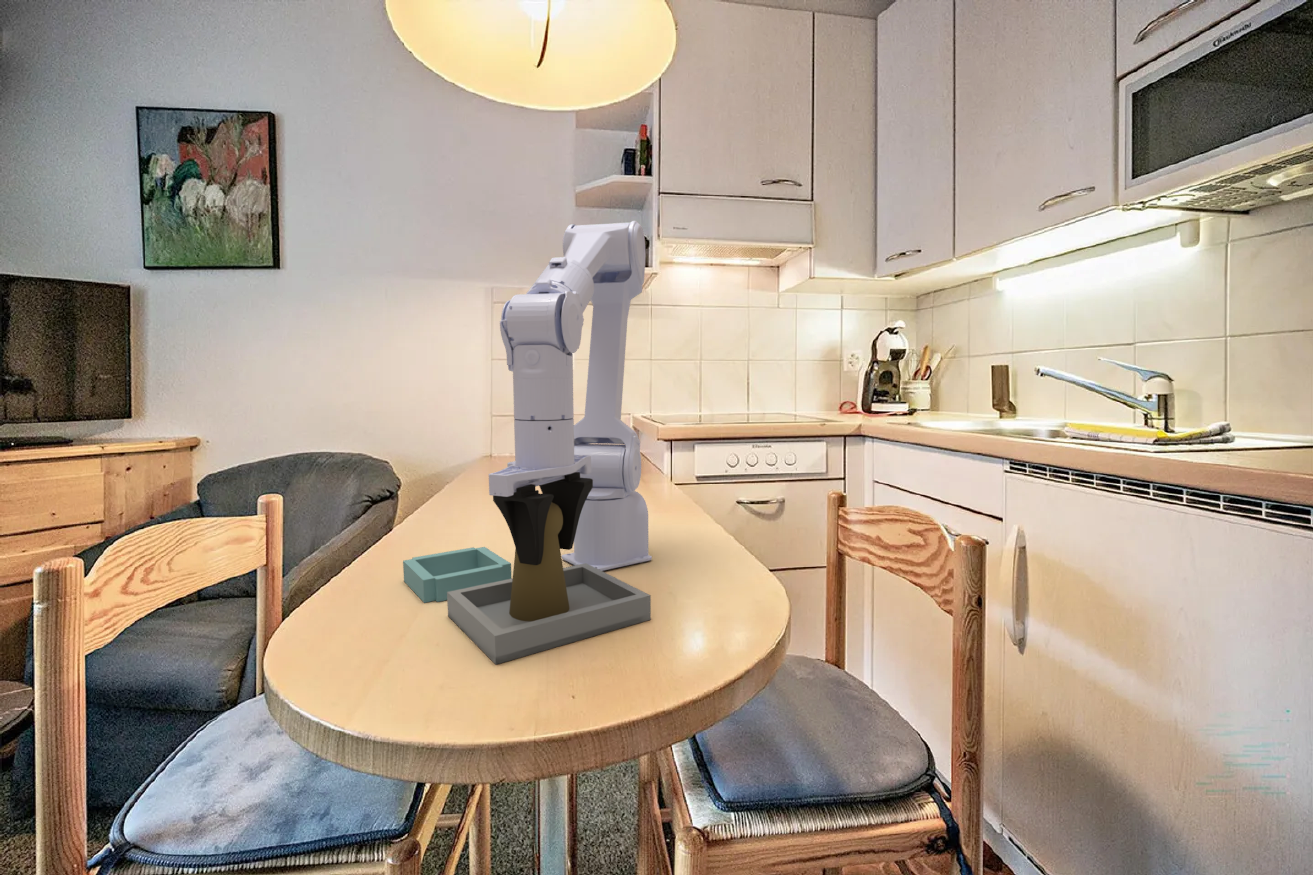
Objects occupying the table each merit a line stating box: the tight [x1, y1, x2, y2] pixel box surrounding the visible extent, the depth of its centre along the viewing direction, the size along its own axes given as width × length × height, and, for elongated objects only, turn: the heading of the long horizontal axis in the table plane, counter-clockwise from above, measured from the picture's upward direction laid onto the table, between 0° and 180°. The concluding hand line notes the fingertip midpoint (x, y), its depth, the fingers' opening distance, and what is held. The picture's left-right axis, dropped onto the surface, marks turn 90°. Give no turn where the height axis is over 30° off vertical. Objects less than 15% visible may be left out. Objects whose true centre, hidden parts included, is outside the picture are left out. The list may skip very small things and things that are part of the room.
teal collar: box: [402, 546, 513, 604], centre depth 71 cm, size 10×10×2 cm
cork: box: [509, 502, 570, 622], centre depth 60 cm, size 6×6×11 cm
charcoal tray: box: [446, 563, 652, 665], centre depth 60 cm, size 16×13×2 cm
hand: (547, 555), depth 60 cm, fingers closed on cork, 5 cm apart
